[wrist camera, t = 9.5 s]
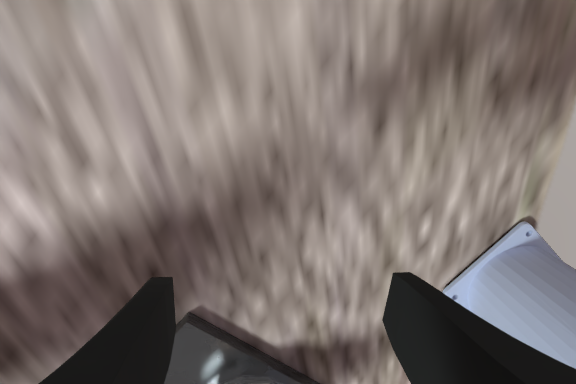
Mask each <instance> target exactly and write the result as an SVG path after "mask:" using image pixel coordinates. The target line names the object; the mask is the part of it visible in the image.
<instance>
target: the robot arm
mask: <svg viewBox="0 0 576 384" xmlns="http://www.w3.org/2000/svg"><path fill="white" fill-rule="evenodd" d="M383 323H384V326H385V329H386V332H387V334H388V337H389V340H390V342H391V345H392V347H393V350H394V352H395V354H396V356H397V358H398V360H399V362H400V363H401V365H402V367H403V369H404V371H405V373H406V375H407V377H408V379H409V381H410V383H411V384H576V269H574V268H572V267H571V266H569V265H567V264H566V263H564V262H563V261H562V260H561V259H560V258H559V256H558V255H557V254H556V253H555V252H554V251H553V250H552V248H551V247H550V246H549V245H548V244H547V243H546V241H545V240H544V239H543V238H542V237H541V236H540V235H539V233H538V232H537V231H536V230H535V229H534V228H533V227H532V225H531V224H529V223H527V222H524V221H523V222H520V223H519V224H518V225H516V226H515V227H514V228H513V229H512V230H511V231H510V232H508V233H507V234H506V235H505V236H504V237H503V238H502V239H501V240H499V241H498V242H497V243H496V244H495V245H494V246H493V247H491V248H490V249H489V250H488V251H487V252H486V253H485V254H483V255H482V256H481V257H480V258H479V259H478V260H477V261H475V262H474V263H473V264H472V265H471V266H470V267H469V268H467V269H466V270H465V271H464V272H463V273H462V274H461V275H459V276H458V277H457V278H456V279H455V280H454V281H453V282H451V283H450V284H449V285H448V286H447V287H446V288H445V289H444V290H443V293H442V292H441V291H439V290H437V289H436V288H434V287H433V286H431V285H430V284H428V283H427V282H425V281H424V280H422V279H421V278H419V277H417V276H416V275H414V274H412V273H410V272H403V273H393V276H392V280H391V285H390V289H389V294H388V298H387V302H386V307H385V311H384V316H383ZM175 332H176V322H175V307H174V293H173V278H172V277H156V278H151V279H150V280H148V281H147V283H146V284H145V285H144V286H143V287H142V288H141V289H140V290H139V291H138V292H137V293H136V294H135V295H134V297H133V298H132V299H131V300H130V301H129V302H128V303H127V304H126V305H125V306H124V307H123V308H122V309H121V310H120V311H119V312H118V313H117V314H116V315H115V316H114V317H113V318H112V319H111V320H110V321H109V322H108V323H107V324H106V325H105V326H104V327H103V328H102V329H101V330H100V331H99V332H98V333H97V334H96V335H95V336H94V337H93V338H92V339H90V340H89V341H88V342H87V343H86V344H85V345H84V346H83V347H82V348H81V349H80V350H78V351H77V352H76V353H75V354H74V355H73V356H72V357H71V358H69V359H68V360H67V361H66V362H65V363H64V364H62V365H61V366H60V367H59V368H58V369H56V370H55V371H54V372H53V373H52V374H50V375H49V376H48V377H47V378H45V379H44V380H43V381H42V382H40V383H39V384H164V382H165V379H166V375H167V372H168V368H169V365H170V361H171V355H172V350H173V344H174V338H175Z"/></svg>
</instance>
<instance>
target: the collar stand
mask: <svg viewBox="0 0 576 384" xmlns="http://www.w3.org/2000/svg"><path fill="white" fill-rule="evenodd" d="M164 384H319V383H317V382H316V381H314V380H312V379H310V378H308V377H306V376H305V375H303V374H301V373H299V372H297V371H296V370H294V369H292V368H290V367H288V366H286V365H285V364H283V363H281V362H279V361H277V360H276V359H274V358H272V357H270V356H268V355H266V354H265V353H263V352H261V351H259V350H257V349H256V348H254V347H252V346H250V345H248V344H246V343H245V342H243V341H241V340H239V339H237V338H235V337H234V336H232V335H230V334H228V333H226V332H225V331H223V330H221V329H219V328H217V327H215V326H214V325H212V324H210V323H208V322H206V321H205V320H203V319H201V318H199V317H197V316H195V315H194V314H192V313H190V312H188V313H187V315H186V316H185V317H184V318H183V319H182V320H181V321H180V322H179V323H178V324H177V325H176V332H175V338H174V344H173V350H172V355H171V361H170V365H169V368H168V372H167V375H166V379H165V382H164Z"/></svg>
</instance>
